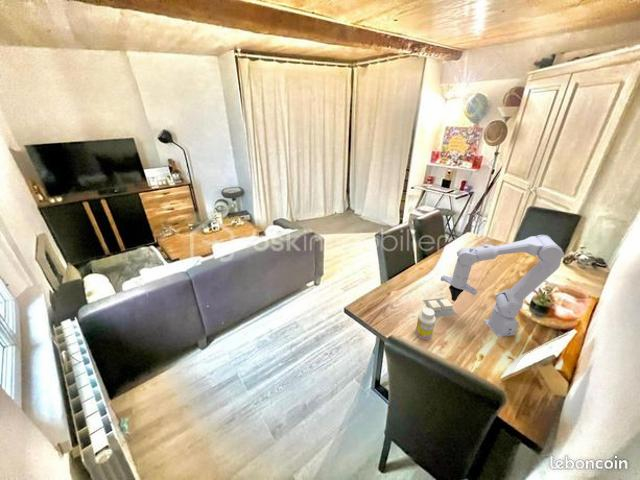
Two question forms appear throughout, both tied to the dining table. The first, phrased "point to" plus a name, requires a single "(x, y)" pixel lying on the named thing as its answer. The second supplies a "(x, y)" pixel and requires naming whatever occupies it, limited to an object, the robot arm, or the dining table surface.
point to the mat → (441, 310)
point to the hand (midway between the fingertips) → (454, 299)
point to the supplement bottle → (426, 323)
